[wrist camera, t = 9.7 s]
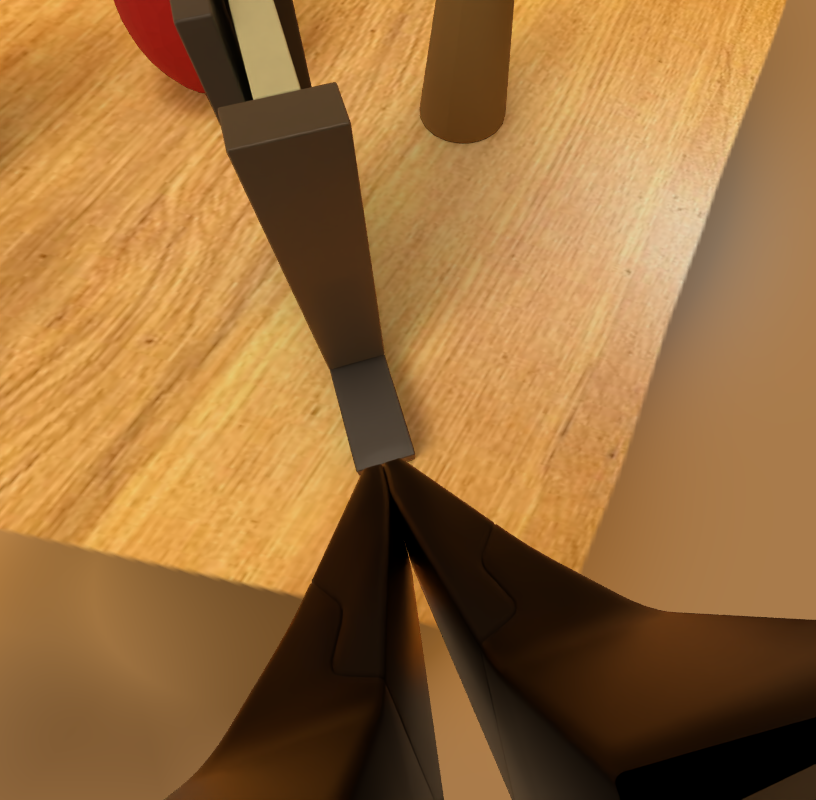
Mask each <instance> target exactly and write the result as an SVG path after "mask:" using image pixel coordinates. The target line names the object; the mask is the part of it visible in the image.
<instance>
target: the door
mask: <svg viewBox="0 0 816 800" xmlns="http://www.w3.org/2000/svg"><path fill="white" fill-rule="evenodd" d="M228 3H229V7H230V11H231V14H232V18H233V22H234V26H235V30H236V34H237V38H238V42H239V46H240V50H241V54H242V57H243V61H244V65H245V69H246V73H247V77H248V81H249V85H250V89H251V93H252V97H253V100H251V101H246V102H242V103H237V104H233V105H228V106H224V107H219V108H218V115H219V119H220V124H221V129H222V133H223V138H224V143H225V147H226V152H227V154H228V156H229V158H230V160H231V162H232V165H233V167H234V169H235V171H236V173H237V175H238V177H239V179H240V181H241V184H242V186H243V188H244V190H245V192H246V194H247V196H248V198H249V201H250V203H251V205H252V207H253V209H254V211H255V213H256V215H257V217H258V220H259V222H260V224H261V226H262V228H263V230H264V232H265V234H266V237H267V239H268V241H269V243H270V245H271V247H272V249H273V251H274V253H275V256H276V258H277V260H278V262H279V264H280V266H281V268H282V270H283V272H284V275H285V277H286V279H287V281H288V283H289V285H290V287H291V289H292V292H293V294H294V296H295V298H296V300H297V302H298V304H299V306H300V308H301V311H302V313H303V315H304V317H305V319H306V321H307V323H308V325H309V328H310V330H311V332H312V334H313V336H314V338H315V340H316V342H317V344H318V347H319V349H320V351H321V353H322V355H323V357H324V359H325V361H326V363H327V366H328V368H329V369H334V368H337V367H341V366H345V365H348V364H352V363H355V362H359V361H363V360H366V359H370V358H373V357H377V356H381V355H384V347H383V340H382V333H381V326H380V319H379V312H378V306H377V299H376V292H375V285H374V278H373V271H372V265H371V258H370V251H369V244H368V237H367V231H366V224H365V217H364V210H363V203H362V196H361V190H360V183H359V176H358V169H357V162H356V155H355V149H354V142H353V135H352V128H351V122H350V120H349V117H348V114H347V111H346V108H345V105H344V103H343V100H342V97H341V94H340V91H339V88H338V85H337V84H336V82H333V83H328V84H324V85H319V86H315V87H310V88H306V89H301V88H300V84H299V81H298V78H297V75H296V71H295V68H294V65H293V62H292V59H291V55H290V52H289V49H288V46H287V42H286V39H285V36H284V33H283V30H282V26H281V23H280V20H279V17H278V13H277V10H276V7H275V4H274V1H273V0H228Z"/></svg>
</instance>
